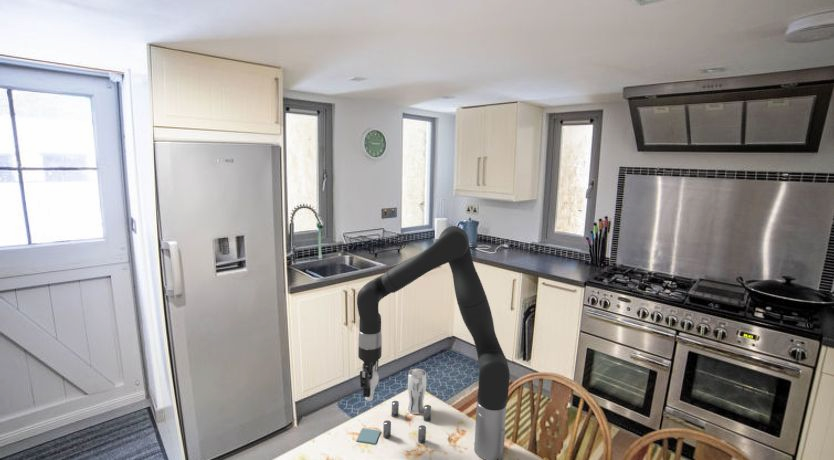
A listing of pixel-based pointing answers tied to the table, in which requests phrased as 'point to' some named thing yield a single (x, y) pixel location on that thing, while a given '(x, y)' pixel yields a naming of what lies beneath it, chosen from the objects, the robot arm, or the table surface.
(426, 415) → the spacers
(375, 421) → the table surface
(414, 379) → the beer glass
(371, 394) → the lightbulb
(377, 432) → the mat
